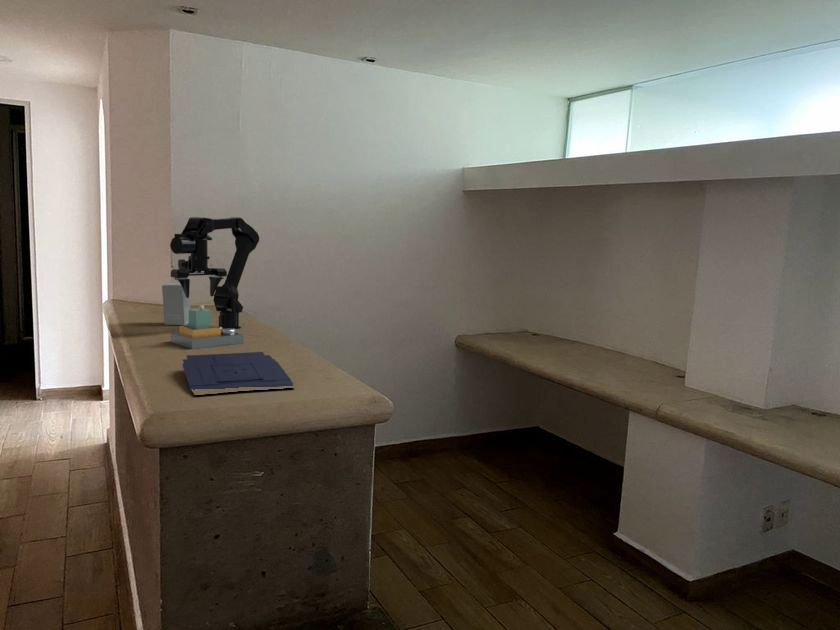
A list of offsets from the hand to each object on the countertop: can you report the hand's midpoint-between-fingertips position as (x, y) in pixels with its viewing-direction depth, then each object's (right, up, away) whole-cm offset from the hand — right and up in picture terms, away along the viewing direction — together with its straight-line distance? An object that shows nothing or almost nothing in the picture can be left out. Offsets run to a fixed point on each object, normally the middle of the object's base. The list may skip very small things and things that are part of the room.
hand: (199, 297), depth 232 cm
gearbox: (+8, -16, -16) cm, 24 cm away
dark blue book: (+31, -23, -64) cm, 75 cm away
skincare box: (-15, -10, +19) cm, 26 cm away
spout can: (+6, -13, -18) cm, 23 cm away
